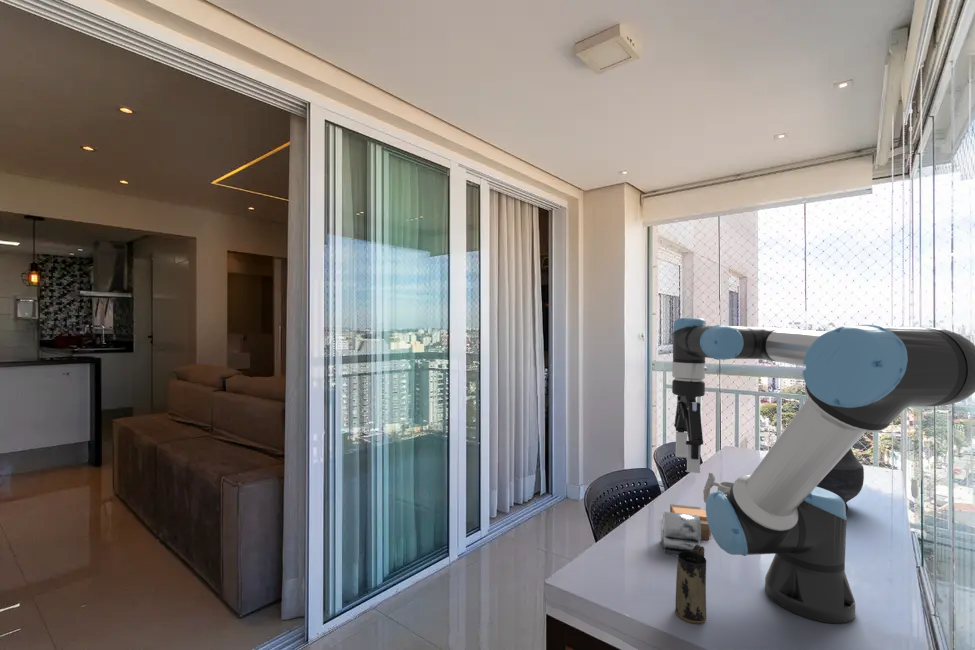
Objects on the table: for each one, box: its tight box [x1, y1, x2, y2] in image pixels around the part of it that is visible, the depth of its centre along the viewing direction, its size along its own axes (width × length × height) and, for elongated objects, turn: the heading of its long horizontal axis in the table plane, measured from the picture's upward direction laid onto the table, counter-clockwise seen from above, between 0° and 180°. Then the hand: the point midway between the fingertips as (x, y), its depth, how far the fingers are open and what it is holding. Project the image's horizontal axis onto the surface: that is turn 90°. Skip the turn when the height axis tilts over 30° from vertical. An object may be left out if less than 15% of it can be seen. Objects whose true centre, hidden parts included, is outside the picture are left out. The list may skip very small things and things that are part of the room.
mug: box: [702, 471, 734, 504], centre depth 136 cm, size 8×12×12 cm, turn 36°
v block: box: [660, 529, 701, 556], centre depth 115 cm, size 8×7×3 cm
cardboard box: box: [669, 503, 710, 540], centre depth 127 cm, size 12×8×4 cm, turn 166°
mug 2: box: [675, 545, 708, 625], centre depth 89 cm, size 8×6×12 cm
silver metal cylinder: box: [662, 511, 702, 543], centre depth 115 cm, size 8×6×6 cm
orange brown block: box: [672, 507, 712, 536], centre depth 126 cm, size 5×9×5 cm, turn 79°
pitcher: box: [816, 447, 865, 511], centre depth 149 cm, size 17×21×30 cm
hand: (686, 464), depth 115 cm, fingers open, 13 cm apart
